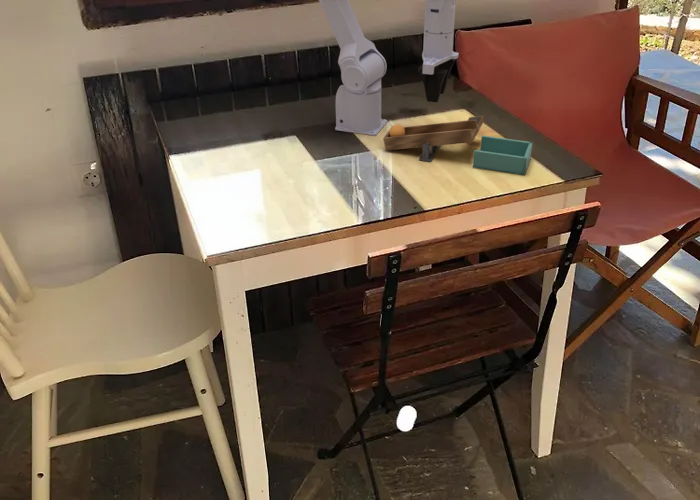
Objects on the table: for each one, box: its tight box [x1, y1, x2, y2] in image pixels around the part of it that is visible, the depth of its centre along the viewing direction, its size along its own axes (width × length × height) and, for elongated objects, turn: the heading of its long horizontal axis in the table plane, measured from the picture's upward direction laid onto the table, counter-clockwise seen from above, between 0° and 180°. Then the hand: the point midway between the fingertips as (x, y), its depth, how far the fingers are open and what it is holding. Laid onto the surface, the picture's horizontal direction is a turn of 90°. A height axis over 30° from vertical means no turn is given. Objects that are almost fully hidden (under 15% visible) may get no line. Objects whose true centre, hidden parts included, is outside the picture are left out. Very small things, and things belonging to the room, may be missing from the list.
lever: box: [382, 115, 485, 151], centre depth 146 cm, size 18×12×3 cm, turn 69°
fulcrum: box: [418, 143, 442, 163], centre depth 145 cm, size 2×8×4 cm, turn 159°
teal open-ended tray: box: [472, 134, 534, 176], centre depth 141 cm, size 10×8×4 cm
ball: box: [388, 124, 405, 137], centre depth 146 cm, size 3×3×3 cm
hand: (435, 97), depth 146 cm, fingers open, 4 cm apart
